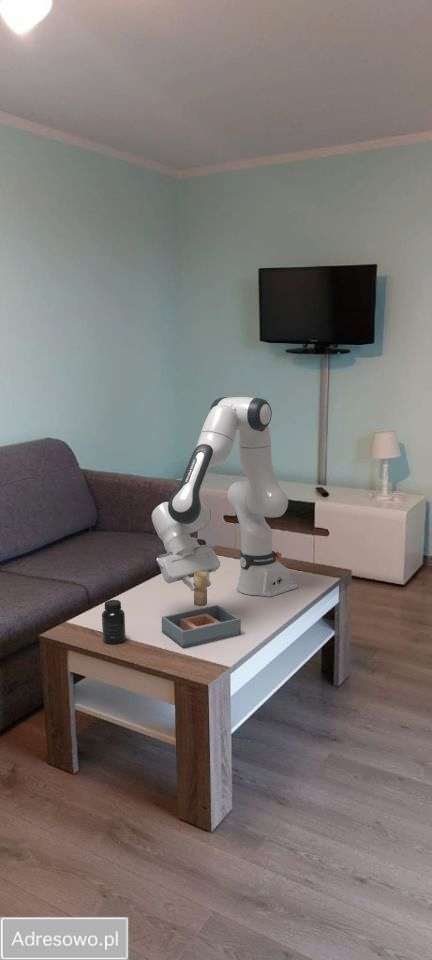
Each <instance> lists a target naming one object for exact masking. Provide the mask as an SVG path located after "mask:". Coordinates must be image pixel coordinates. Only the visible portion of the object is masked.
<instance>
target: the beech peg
mask: <svg viewBox="0 0 432 960" xmlns="http://www.w3.org/2000/svg"><path fill="white" fill-rule="evenodd" d="M193 583H196V586H197V589H196V590H194V591H193V605H194V606H195V607H207V605H208V587H207V572H206V571H197V572H194V577H193Z"/></svg>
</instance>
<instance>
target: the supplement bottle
mask: <svg viewBox="0 0 432 960" xmlns="http://www.w3.org/2000/svg"><path fill="white" fill-rule="evenodd" d="M101 622H102V623H101V624H102V625H101V626H102V627H101V628H102V629H101V630H102V641H103V642H104V643H106V644H108V645H117V644H121V643H123V642H124V641H126V615H125V611H124V610H123V609H122V602H121V600H118V599H109V600H107V601H105V602H104V611H102V614H101Z"/></svg>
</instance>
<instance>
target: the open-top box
mask: <svg viewBox="0 0 432 960" xmlns="http://www.w3.org/2000/svg"><path fill="white" fill-rule="evenodd" d="M241 621H242V620H241V618H240V617H238V616H236V615H235V614H233V613H231V612H230V611H228V610H226V609H225V608H223V607H221V606H220V605H219V604H216V605H212V606H205V607H202V608H201V607H200V608H198V609H192V610H188V611H184V612H183V611H182V612H179V613H173V614H169V615H164V616H161V633H162V634H163V635H165V636H166V637H168V638H169V639H170V640H171V641H173V642H174V643H176V644H177V645H178V646H179V647H180V648H181V649H185V648H191V647H194V646H198V645H203V644H206V643H210V642H215V641H219V640H222V639H226V638H227V639H228V638H232V637H235V636H240V635H241Z"/></svg>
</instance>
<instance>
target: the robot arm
mask: <svg viewBox="0 0 432 960" xmlns="http://www.w3.org/2000/svg"><path fill="white" fill-rule="evenodd" d="M271 407H272V406H271V405H270V404H269V402H268V401H267V400H266V399H264V398H260V397H250V396H232V397H227V396H226V397H225V396H223V397H219V398H216V399H215V400H213V403H211V405H210V408H209V412H208V414H207V417H206V418H205V420H204V422H203V426H202V427H201V431H200V433H199V436H198V437H199V438H198V440H197V442H196V446H195V448H194V450H193V451H192V454H191V457H190V458H189V460H188V464H187V466H186V468H185V471H184V473H183V476H182V479H181V481H180V484H179V485H178V487H177V489H175V491H174V492H173V494H172V495H171V496H170V498H169V500H168V501H164V502H161V503H160V504H158V505H157V506H156V507H155V508H154V509H153V510H152V513H151V521H152V524H153V527H154V529H155V531H156V533H157V536H158V538H159V539H160V540H161V541H162V543H163V545H164V546H163V547H164V549H165V551H166V553H161V554H159V555H158V556H157V558H156V562H157V564H158V566H159V569H160V573H161V575H162V578H163V580H164V582H166V583H167V584H172V583H176V582H179V581H181V582H182V583H183V584H184V585H185V586H187V587H188V588H189V590H190V591H191V592H194V590H196V589H197V586H196V583H194V581H192V580H191V578H194V572H197V571H206V572H207V588H208V587H210V586H211V585H212V582H211V580H210V573H213V572H215V573H216V571H217V570H218V569H219V568H220V567H221V561H220V559H219V558H218V556H217V554H216V552H215V551H214V549H213V548H212V547H210V546H209V544H210V543H209V541H208V539H205V538H197V537H193V536H192V537H191V535H190V534H193V533H196V532H198V531H202V530H203V529H205V528H206V527H207V526H208V525H209V524H210V522H211V519H212V512H211V509H210V507H209V506H208V505H207V504H206V503H205V501H203V500H202V499H201V493H200V492H201V490H202V486H203V484H204V481H205V478H206V476H207V473H208V471H209V469H210V468H211V467H212V466H217V465H221V464H222V463H224V462H226V461H227V459H228V457H229V455H230V454H231V451H232V450H233V447H234V442H235V439H236V434H237V431H239V438H238V439H239V442H238V443H239V445H238V446H239V448H238V449H239V466H240V469H241V471H242V472H243V473H244V475H246V478H247V479H248V480H244V481H242V480H241V481H235V482H233V483H232V484H231V485H230V487H229V488H228V491H227V501H228V503H229V505H230V506H231V507H232V508H233V510H234V512H235V514H236V516H237V520H238V523H239V528H240V537H241V539H240V540H241V548H240V549H241V550H240V551H239V553H240V554H239V563H240V564H239V565H240V572H239V579H238V584H237V587H236V590H237V591H238V592H239V593H241V594H245V595H249V596H263V597H267V598H268V597H269V598H270V597H271V598H272V597H275V596H278V595H280V594H283V593H286V592H289V591H292V590H295V589H298V583H297V582H296V581H295V580H293V579H292V574H291V571H290V570H289V568H287V567H286V566H284V565H283V564H282V563H281V562H279V561H278V560H277V559H281V558H282V553H281V552H279V551H274V550H273V529H272V528H271V526H270V525H269V524H268V522H267V520H266V519H265V518H280V517H282V516H283V515H284V514H285V512H286V511H287V509H288V505H289V497H288V495H287V493H286V492H285V491H284V490H283V489H282V487H281V486H280V484H279V482H278V480H277V477H276V474H275V471H274V468H273V460H272V459H273V457H272V441H271V430H270V425H269V424H270V422H271V420H272V417H273V416H272V415H273V414H272V411H273V410H272V408H271ZM276 558H277V559H276Z"/></svg>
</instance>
